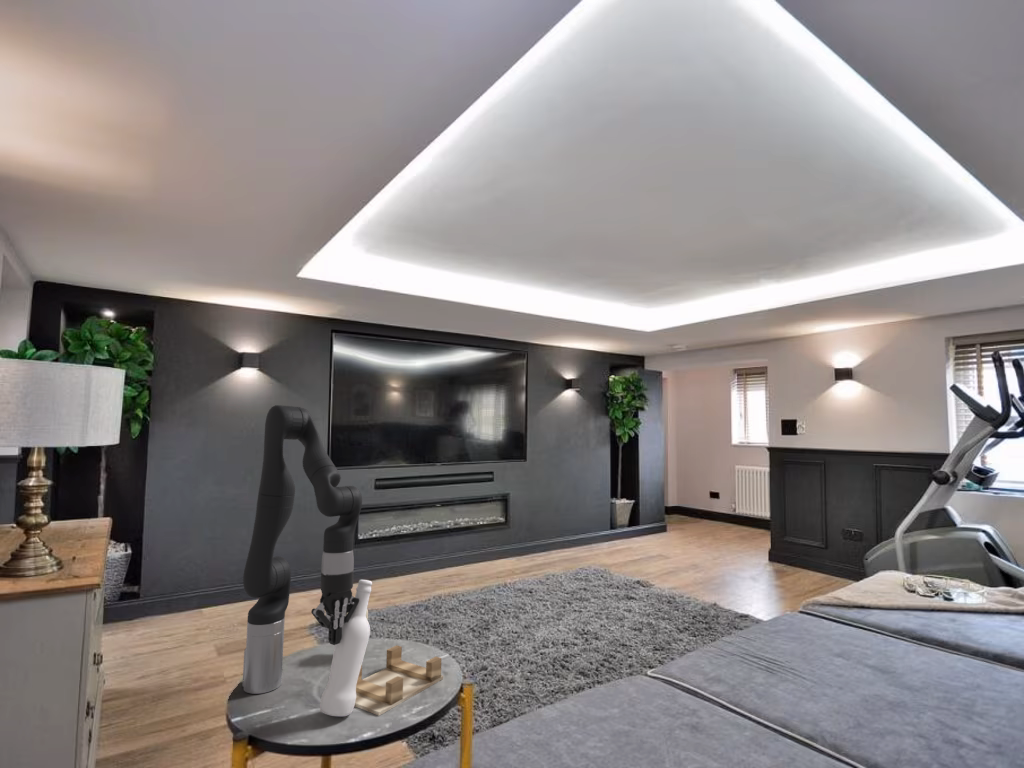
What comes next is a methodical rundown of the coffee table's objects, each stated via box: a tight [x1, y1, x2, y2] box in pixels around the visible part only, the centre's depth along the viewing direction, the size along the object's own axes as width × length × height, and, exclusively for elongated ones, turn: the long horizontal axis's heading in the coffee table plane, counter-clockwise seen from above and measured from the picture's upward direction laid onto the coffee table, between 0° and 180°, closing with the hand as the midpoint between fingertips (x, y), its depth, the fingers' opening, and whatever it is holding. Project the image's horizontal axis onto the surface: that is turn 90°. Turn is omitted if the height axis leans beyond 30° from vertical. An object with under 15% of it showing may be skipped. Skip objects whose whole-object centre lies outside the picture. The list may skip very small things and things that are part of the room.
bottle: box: [319, 579, 373, 717], centre depth 133 cm, size 8×8×30 cm
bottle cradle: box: [354, 645, 444, 717], centre depth 143 cm, size 17×24×6 cm
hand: (334, 643), depth 129 cm, fingers closed
